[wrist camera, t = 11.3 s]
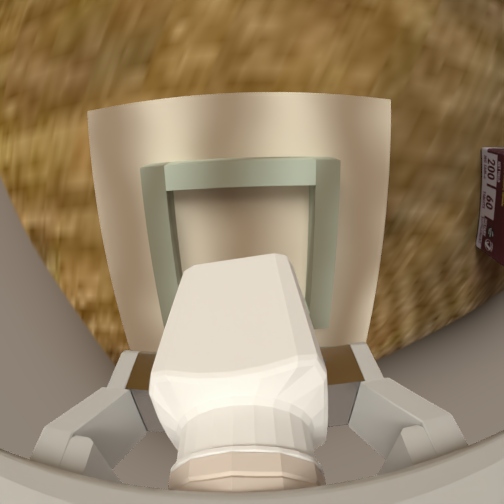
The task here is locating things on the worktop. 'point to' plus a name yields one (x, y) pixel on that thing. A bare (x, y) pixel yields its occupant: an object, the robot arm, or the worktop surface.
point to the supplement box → (492, 204)
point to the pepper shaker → (241, 379)
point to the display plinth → (243, 199)
